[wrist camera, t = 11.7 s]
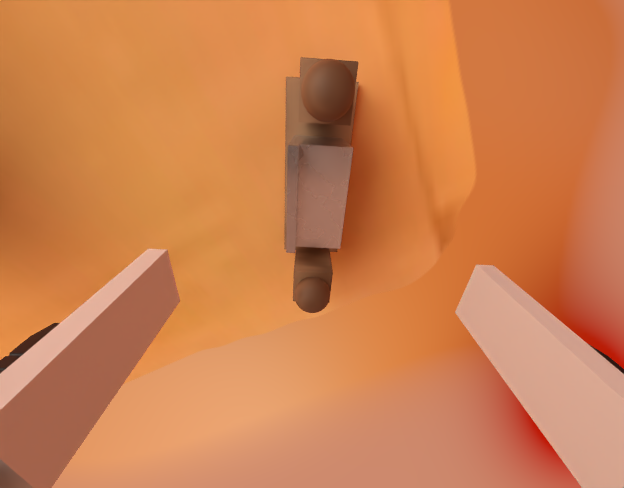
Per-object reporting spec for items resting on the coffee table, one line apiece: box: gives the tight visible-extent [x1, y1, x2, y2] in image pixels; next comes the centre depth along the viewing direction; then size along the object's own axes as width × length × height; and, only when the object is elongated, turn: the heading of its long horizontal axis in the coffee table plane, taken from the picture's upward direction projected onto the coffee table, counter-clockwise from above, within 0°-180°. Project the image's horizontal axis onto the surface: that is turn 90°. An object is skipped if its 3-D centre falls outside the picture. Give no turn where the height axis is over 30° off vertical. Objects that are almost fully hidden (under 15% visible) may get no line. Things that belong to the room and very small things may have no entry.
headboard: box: [285, 57, 359, 313], centre depth 23 cm, size 7×19×14 cm, turn 177°
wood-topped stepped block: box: [286, 135, 353, 253], centre depth 24 cm, size 5×9×9 cm, turn 177°
